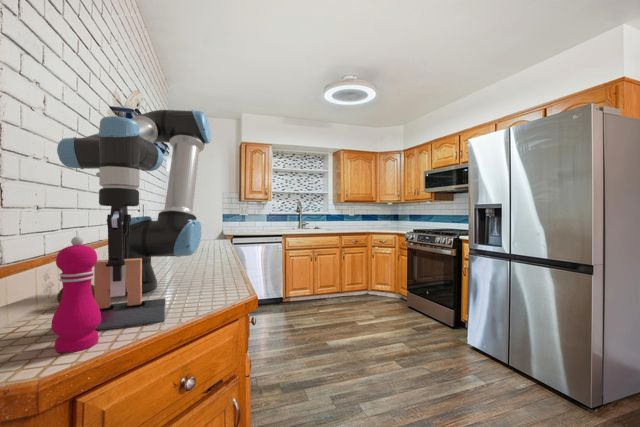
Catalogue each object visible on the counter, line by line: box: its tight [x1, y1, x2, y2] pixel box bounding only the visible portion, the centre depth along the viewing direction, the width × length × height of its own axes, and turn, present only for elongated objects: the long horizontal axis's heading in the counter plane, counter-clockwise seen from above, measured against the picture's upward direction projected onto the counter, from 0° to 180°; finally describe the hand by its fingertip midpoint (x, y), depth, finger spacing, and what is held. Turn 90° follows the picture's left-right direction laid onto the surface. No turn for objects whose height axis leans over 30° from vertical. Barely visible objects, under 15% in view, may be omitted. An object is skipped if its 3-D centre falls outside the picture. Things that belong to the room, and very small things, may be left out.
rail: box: [95, 297, 166, 331], centre depth 69 cm, size 7×18×4 cm, turn 115°
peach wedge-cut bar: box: [93, 258, 143, 309], centre depth 69 cm, size 3×8×10 cm, turn 115°
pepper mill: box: [50, 236, 101, 354], centre depth 57 cm, size 7×7×20 cm
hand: (119, 293), depth 69 cm, fingers closed on peach wedge-cut bar, 3 cm apart
